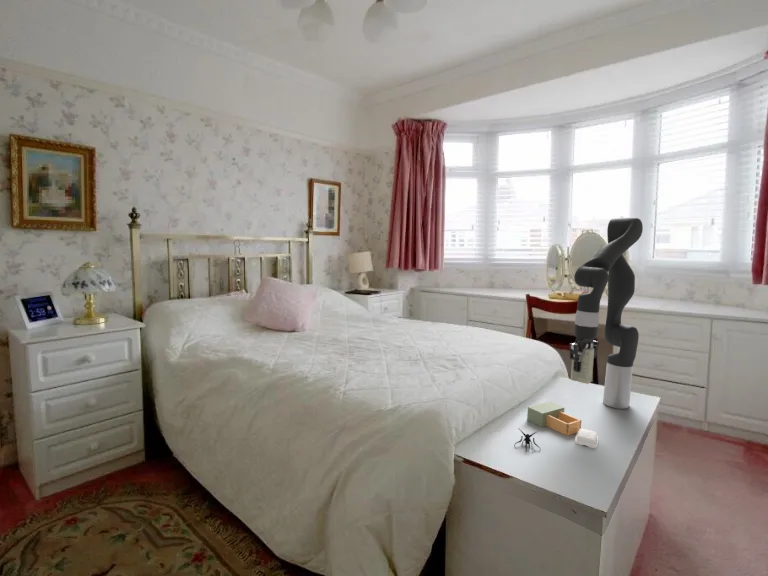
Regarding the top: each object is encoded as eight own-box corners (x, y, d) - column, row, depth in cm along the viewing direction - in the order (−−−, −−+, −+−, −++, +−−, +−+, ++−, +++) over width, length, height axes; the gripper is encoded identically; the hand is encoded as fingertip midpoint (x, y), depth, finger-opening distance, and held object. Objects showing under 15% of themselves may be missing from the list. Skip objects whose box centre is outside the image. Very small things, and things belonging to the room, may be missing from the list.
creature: (540, 458, 130) (539, 441, 137) (542, 444, 128) (541, 428, 136) (513, 454, 133) (514, 437, 140) (515, 439, 131) (515, 424, 138)
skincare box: (591, 381, 151) (595, 348, 150) (587, 384, 148) (591, 350, 146) (573, 377, 155) (577, 345, 154) (569, 379, 152) (572, 346, 151)
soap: (596, 450, 135) (597, 441, 135) (573, 444, 138) (574, 435, 138) (598, 438, 143) (599, 430, 142) (576, 433, 146) (577, 425, 146)
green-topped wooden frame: (548, 413, 161) (549, 401, 161) (584, 429, 148) (585, 416, 148) (527, 420, 155) (528, 407, 154) (562, 437, 142) (563, 423, 142)
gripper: (589, 320, 156) (584, 365, 158) (564, 322, 149) (559, 369, 151) (608, 324, 150) (603, 371, 152) (583, 327, 142) (578, 376, 144)
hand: (581, 370), depth 151 cm, fingers closed on skincare box, 5 cm apart
